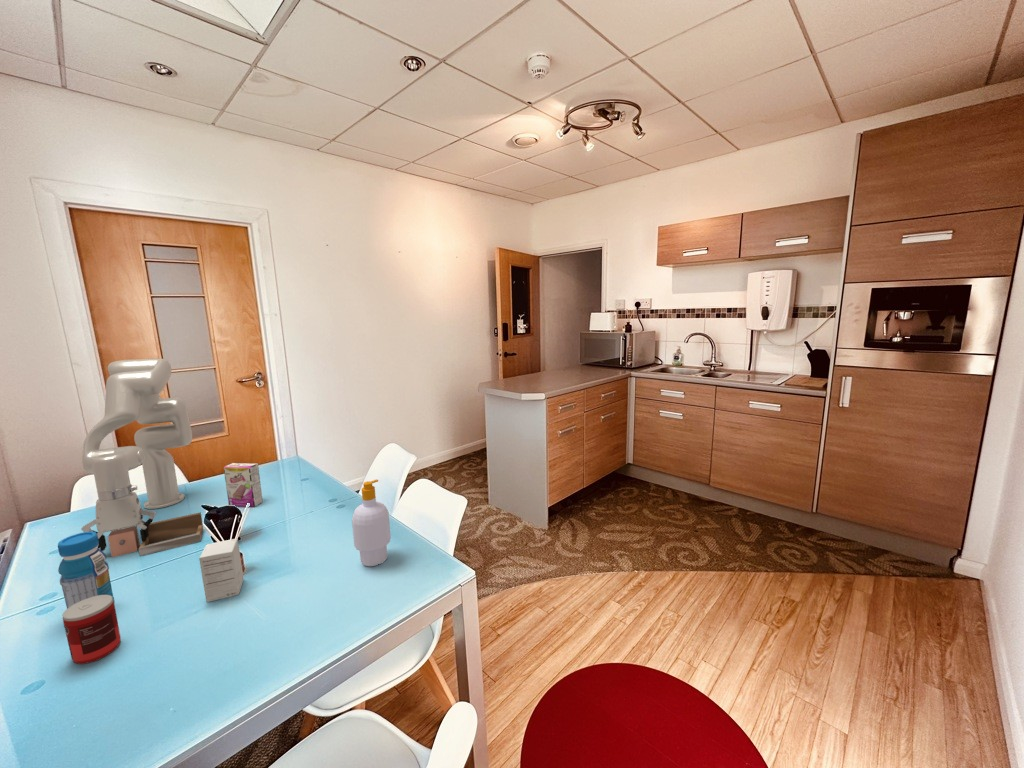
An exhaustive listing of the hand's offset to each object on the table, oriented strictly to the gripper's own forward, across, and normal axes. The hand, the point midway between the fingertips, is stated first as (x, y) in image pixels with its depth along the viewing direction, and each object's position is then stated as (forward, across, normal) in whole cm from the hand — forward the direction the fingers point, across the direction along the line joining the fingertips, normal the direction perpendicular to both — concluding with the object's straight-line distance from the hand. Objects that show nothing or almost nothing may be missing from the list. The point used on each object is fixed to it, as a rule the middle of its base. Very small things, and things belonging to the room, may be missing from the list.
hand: (124, 544), depth 131 cm
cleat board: (+2, -12, +2) cm, 12 cm away
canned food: (+3, -5, +51) cm, 51 cm away
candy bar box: (+2, -32, -18) cm, 37 cm away
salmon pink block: (+3, 0, 0) cm, 3 cm away
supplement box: (+3, -28, +42) cm, 50 cm away
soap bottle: (+3, -65, +50) cm, 82 cm away
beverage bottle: (+3, 0, +33) cm, 33 cm away
